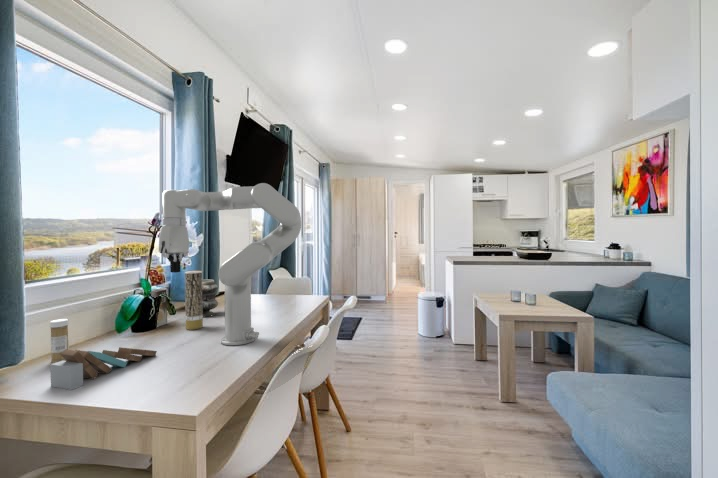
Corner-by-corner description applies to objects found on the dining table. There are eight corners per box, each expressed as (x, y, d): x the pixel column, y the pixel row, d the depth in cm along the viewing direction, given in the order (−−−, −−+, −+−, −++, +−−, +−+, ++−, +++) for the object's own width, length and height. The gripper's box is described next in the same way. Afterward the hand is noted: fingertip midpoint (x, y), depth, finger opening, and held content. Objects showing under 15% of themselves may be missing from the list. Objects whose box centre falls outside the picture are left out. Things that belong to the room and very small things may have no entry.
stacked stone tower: (215, 317, 173) (215, 281, 173) (189, 318, 171) (189, 282, 170) (220, 312, 185) (219, 278, 185) (195, 313, 182) (195, 279, 182)
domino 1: (86, 372, 101) (65, 349, 96) (98, 374, 100) (77, 350, 94) (81, 377, 100) (60, 353, 95) (93, 379, 98) (72, 355, 93)
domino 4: (130, 355, 114) (103, 349, 106) (142, 356, 113) (115, 351, 104) (128, 360, 114) (100, 355, 105) (140, 361, 112) (112, 356, 103)
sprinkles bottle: (70, 357, 117) (70, 317, 116) (66, 361, 113) (65, 320, 112) (53, 359, 115) (52, 319, 114) (48, 364, 111) (47, 322, 110)
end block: (83, 385, 94) (82, 363, 94) (71, 390, 91) (70, 367, 91) (63, 381, 97) (62, 360, 97) (50, 386, 94) (50, 364, 94)
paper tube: (197, 325, 157) (196, 270, 157) (205, 327, 153) (204, 271, 153) (182, 328, 152) (181, 271, 151) (190, 331, 148) (189, 272, 147)
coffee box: (156, 323, 162) (155, 289, 162) (167, 323, 161) (167, 289, 161) (139, 328, 153) (139, 292, 153) (152, 329, 152) (151, 292, 152)
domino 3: (115, 360, 109) (88, 350, 102) (127, 362, 108) (100, 352, 100) (113, 365, 109) (84, 356, 101) (124, 367, 107) (96, 358, 99)
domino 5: (145, 349, 119) (119, 347, 110) (156, 351, 118) (130, 348, 109) (144, 354, 119) (117, 352, 110) (155, 356, 117) (129, 354, 108)
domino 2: (100, 366, 105) (75, 349, 98) (112, 368, 103) (87, 351, 97) (96, 371, 104) (70, 354, 97) (108, 373, 102) (83, 356, 96)
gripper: (182, 224, 138) (183, 270, 138) (149, 222, 124) (150, 274, 124) (197, 223, 135) (198, 270, 136) (165, 222, 121) (166, 274, 121)
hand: (175, 272), depth 130 cm, fingers closed
